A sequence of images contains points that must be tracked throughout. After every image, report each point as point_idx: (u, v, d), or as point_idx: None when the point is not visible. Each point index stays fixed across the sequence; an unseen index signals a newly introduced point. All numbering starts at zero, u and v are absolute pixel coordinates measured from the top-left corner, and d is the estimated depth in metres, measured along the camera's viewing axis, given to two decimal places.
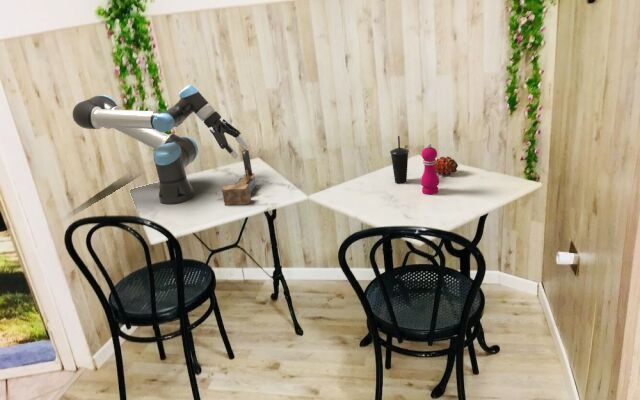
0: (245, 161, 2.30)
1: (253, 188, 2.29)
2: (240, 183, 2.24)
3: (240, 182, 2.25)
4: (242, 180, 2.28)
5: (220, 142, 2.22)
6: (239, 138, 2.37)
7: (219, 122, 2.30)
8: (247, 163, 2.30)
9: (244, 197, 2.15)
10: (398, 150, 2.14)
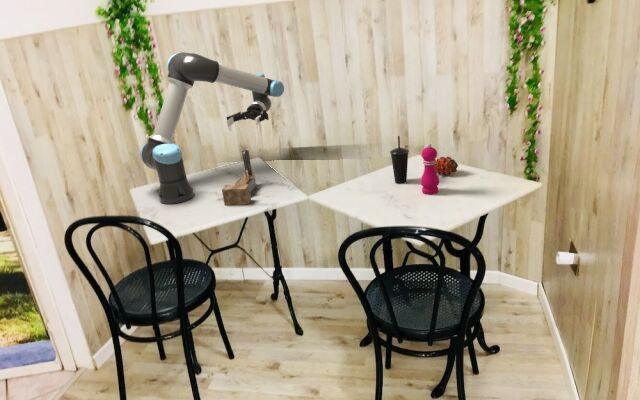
0: (245, 161, 2.30)
1: (253, 188, 2.29)
2: (240, 183, 2.24)
3: (240, 182, 2.25)
4: (242, 180, 2.28)
5: None
6: (232, 121, 2.42)
7: None
8: (247, 163, 2.30)
9: (244, 197, 2.15)
10: (398, 150, 2.14)
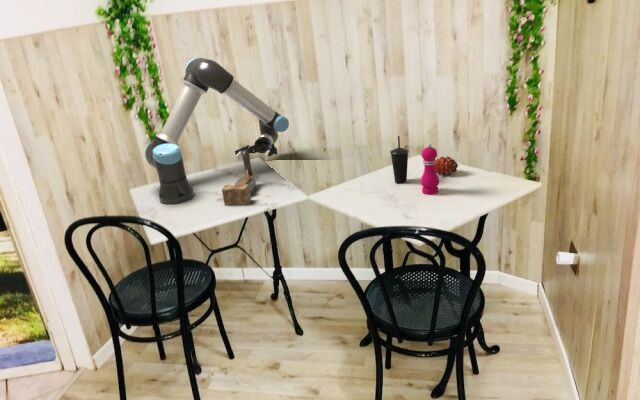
0: (245, 161, 2.30)
1: (253, 188, 2.29)
2: (240, 183, 2.24)
3: (240, 182, 2.25)
4: (242, 180, 2.28)
5: None
6: (241, 155, 2.41)
7: None
8: (247, 163, 2.30)
9: (244, 197, 2.15)
10: (398, 150, 2.14)
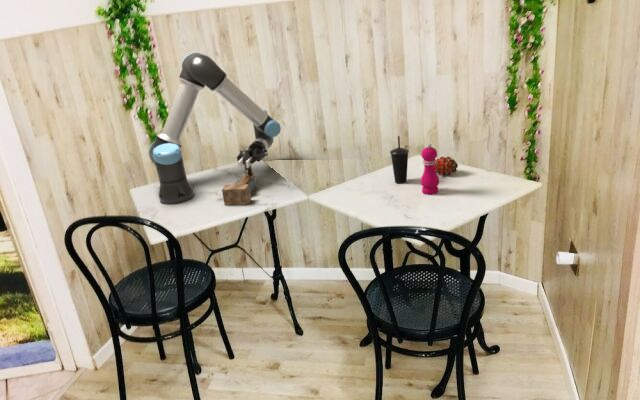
0: (245, 161, 2.30)
1: (253, 188, 2.29)
2: (240, 183, 2.24)
3: (240, 182, 2.25)
4: (242, 180, 2.28)
5: (260, 157, 2.33)
6: (243, 162, 2.31)
7: None
8: None
9: (244, 197, 2.15)
10: (398, 150, 2.14)
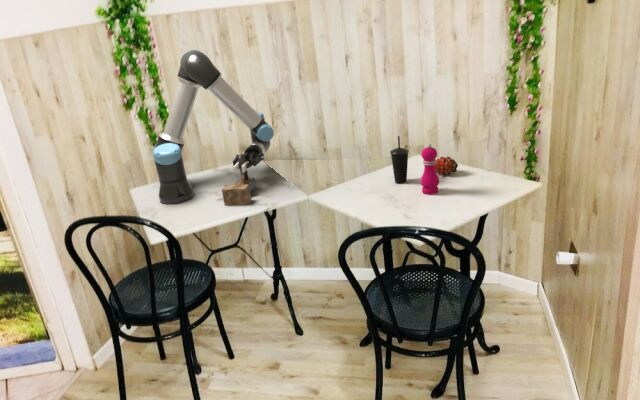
0: (241, 165, 2.24)
1: (253, 188, 2.29)
2: None
3: None
4: None
5: (257, 162, 2.28)
6: None
7: None
8: None
9: (244, 197, 2.15)
10: (398, 150, 2.14)
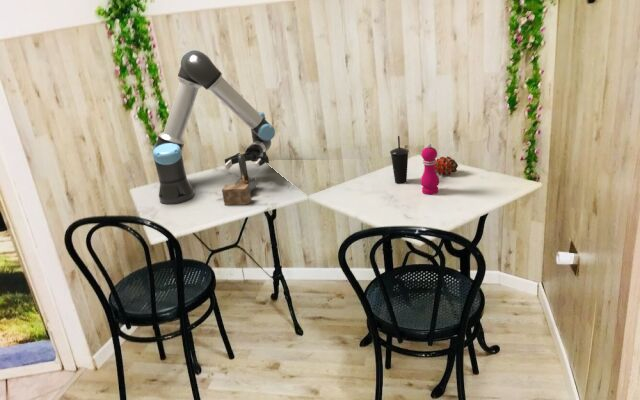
0: (241, 165, 2.24)
1: (253, 188, 2.29)
2: None
3: None
4: None
5: None
6: (231, 164, 2.30)
7: None
8: (243, 168, 2.25)
9: (244, 197, 2.15)
10: (398, 150, 2.14)
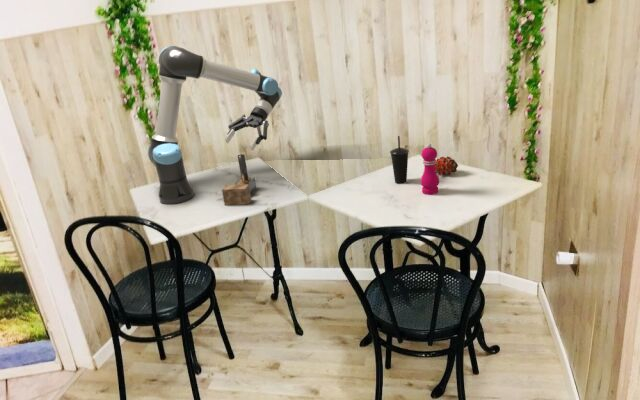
0: (241, 165, 2.24)
1: (253, 188, 2.29)
2: None
3: None
4: None
5: (266, 134, 2.39)
6: (233, 133, 2.43)
7: None
8: (243, 168, 2.25)
9: (244, 197, 2.15)
10: (398, 150, 2.14)
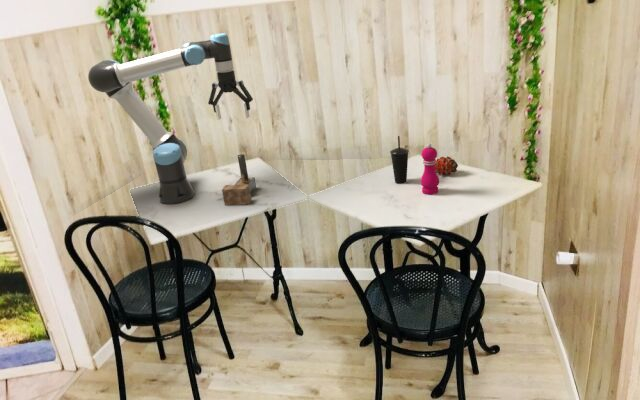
0: (241, 165, 2.24)
1: (253, 188, 2.29)
2: None
3: None
4: None
5: (250, 96, 2.30)
6: (218, 107, 2.36)
7: None
8: (243, 168, 2.25)
9: (244, 197, 2.15)
10: (398, 150, 2.14)
